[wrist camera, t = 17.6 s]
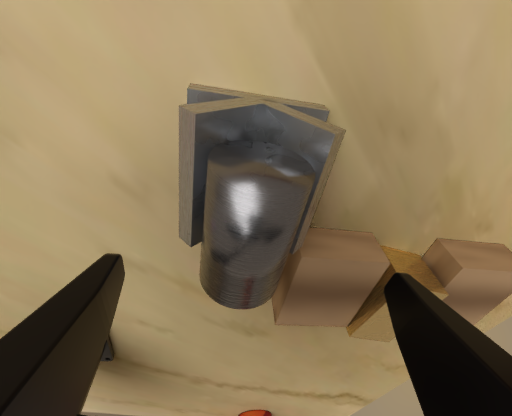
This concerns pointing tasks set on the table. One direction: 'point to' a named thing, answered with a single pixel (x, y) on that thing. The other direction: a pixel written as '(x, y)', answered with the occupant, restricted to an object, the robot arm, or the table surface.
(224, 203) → the dark grey rounded block
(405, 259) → the block
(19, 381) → the robot arm
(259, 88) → the table surface
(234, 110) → the v block
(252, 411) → the paper cup
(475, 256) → the beam
